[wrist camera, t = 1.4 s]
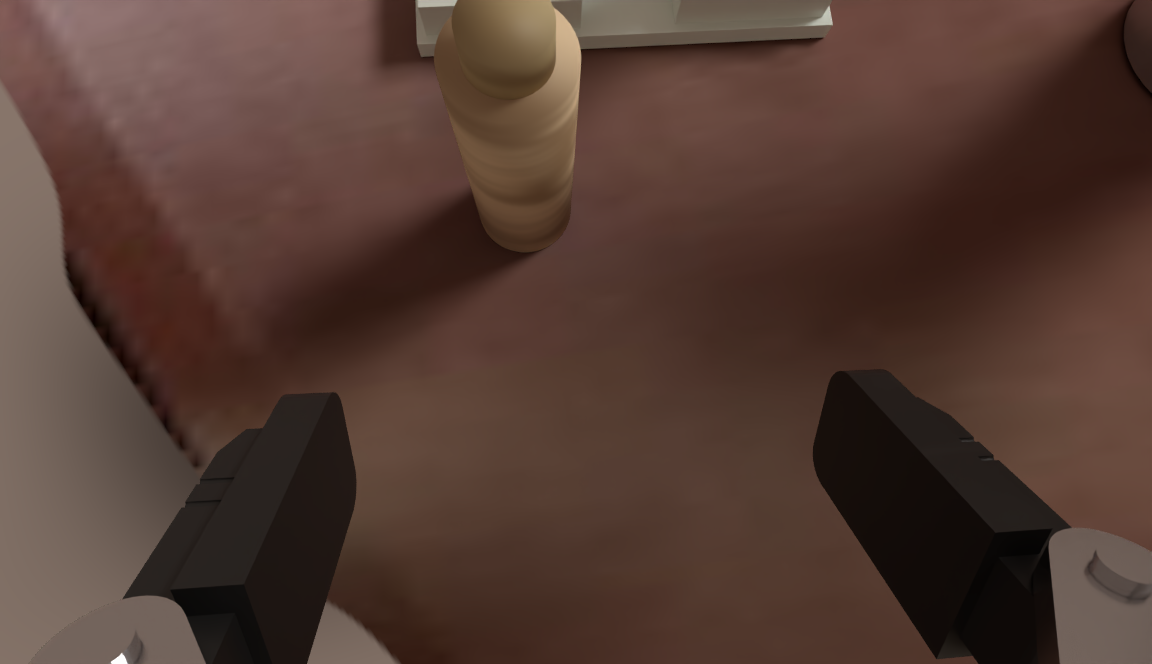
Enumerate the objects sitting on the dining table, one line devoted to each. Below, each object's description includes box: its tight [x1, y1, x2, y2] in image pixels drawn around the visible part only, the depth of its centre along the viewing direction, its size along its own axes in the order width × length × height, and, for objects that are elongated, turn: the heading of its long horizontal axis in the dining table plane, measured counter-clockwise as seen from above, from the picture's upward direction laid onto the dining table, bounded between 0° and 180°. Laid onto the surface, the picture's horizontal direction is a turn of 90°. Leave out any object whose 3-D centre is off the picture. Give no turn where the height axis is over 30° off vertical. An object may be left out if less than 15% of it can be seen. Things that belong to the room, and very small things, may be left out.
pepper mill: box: [434, 0, 581, 252], centre depth 24 cm, size 5×5×14 cm
